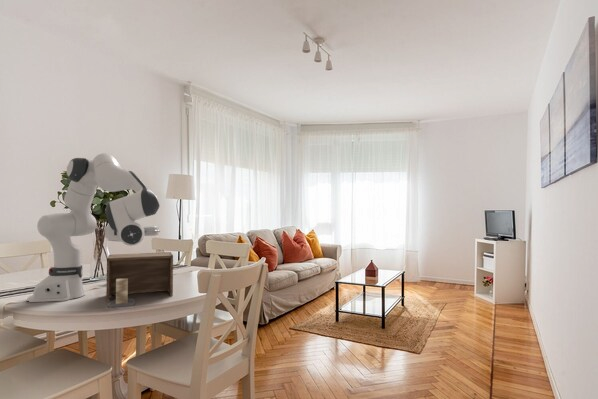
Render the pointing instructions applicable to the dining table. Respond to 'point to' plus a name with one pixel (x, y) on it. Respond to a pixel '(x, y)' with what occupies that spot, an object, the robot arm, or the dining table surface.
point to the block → (121, 290)
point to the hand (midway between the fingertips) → (132, 230)
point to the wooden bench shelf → (140, 272)
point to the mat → (113, 304)
